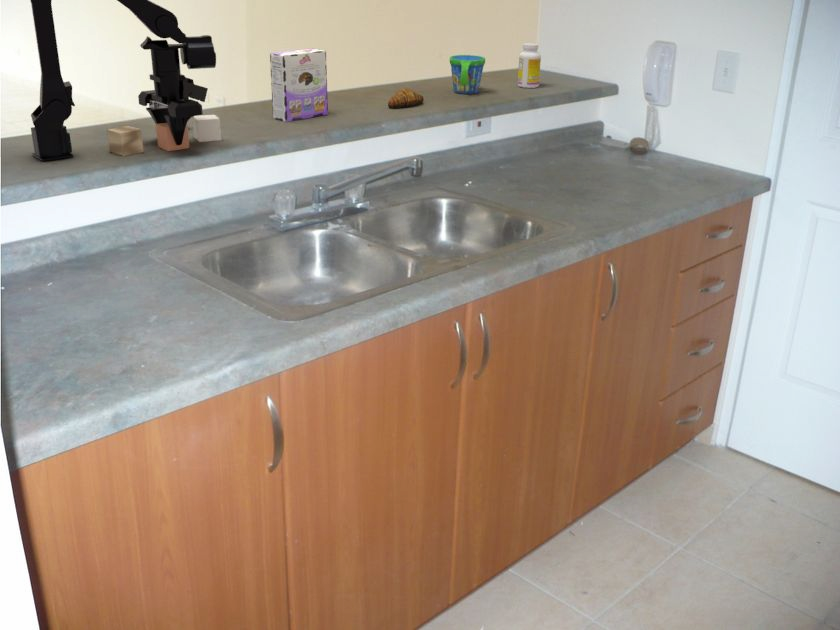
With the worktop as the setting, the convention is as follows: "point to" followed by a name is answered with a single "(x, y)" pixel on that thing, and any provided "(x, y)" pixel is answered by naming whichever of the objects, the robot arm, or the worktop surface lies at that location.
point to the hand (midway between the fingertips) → (173, 142)
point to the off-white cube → (207, 128)
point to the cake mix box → (299, 84)
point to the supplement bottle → (529, 66)
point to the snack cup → (466, 73)
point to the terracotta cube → (170, 138)
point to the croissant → (405, 99)
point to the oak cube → (125, 140)
